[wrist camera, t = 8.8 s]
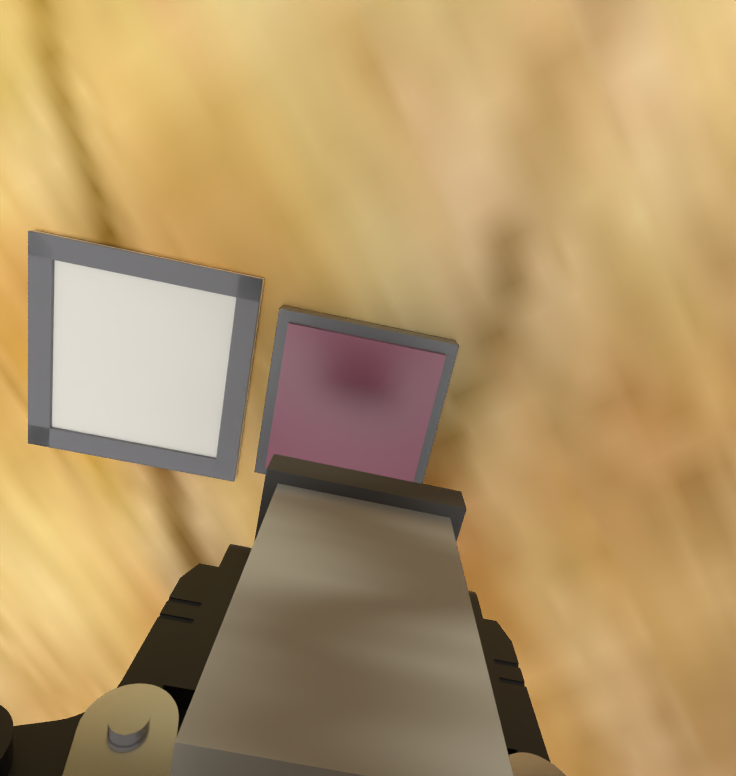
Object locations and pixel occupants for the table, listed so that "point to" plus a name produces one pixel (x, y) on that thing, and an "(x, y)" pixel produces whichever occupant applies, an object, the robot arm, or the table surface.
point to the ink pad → (354, 394)
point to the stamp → (347, 640)
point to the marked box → (138, 355)
